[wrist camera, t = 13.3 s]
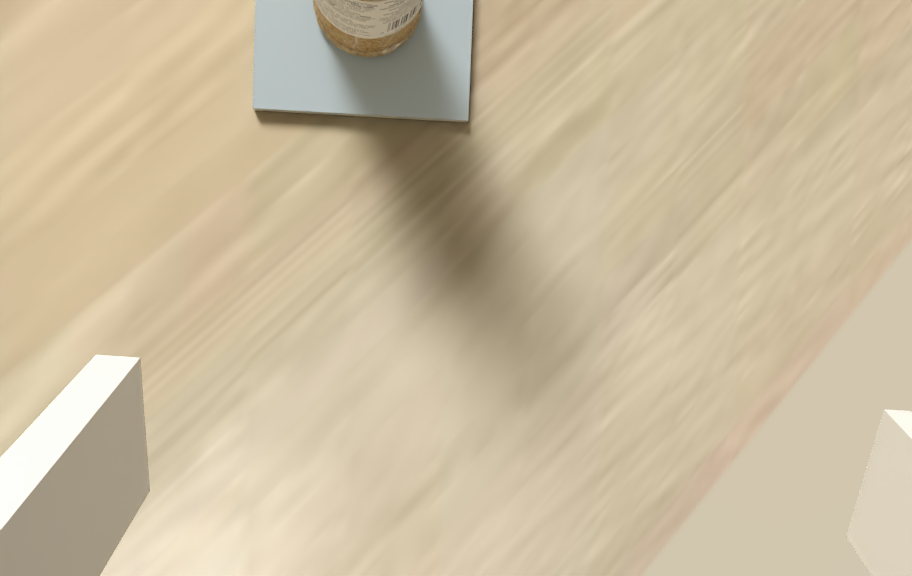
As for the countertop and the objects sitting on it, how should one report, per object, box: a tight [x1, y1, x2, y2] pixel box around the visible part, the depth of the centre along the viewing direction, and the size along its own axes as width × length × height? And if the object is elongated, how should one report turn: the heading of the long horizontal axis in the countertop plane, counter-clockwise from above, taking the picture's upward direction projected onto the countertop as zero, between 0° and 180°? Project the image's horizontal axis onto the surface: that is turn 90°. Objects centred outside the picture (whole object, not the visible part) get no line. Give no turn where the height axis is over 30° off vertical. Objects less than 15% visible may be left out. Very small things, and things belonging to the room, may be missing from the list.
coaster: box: [253, 0, 473, 122], centre depth 35 cm, size 9×9×1 cm
